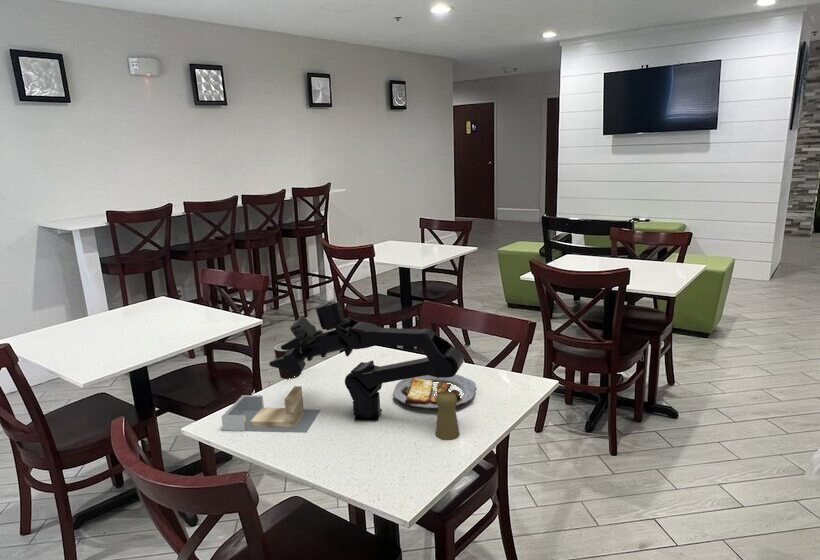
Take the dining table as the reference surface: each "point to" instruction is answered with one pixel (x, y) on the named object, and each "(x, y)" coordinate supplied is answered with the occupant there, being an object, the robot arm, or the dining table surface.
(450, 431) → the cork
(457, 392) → the food plate
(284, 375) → the coffee mug
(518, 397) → the dining table surface
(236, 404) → the frame
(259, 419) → the menu stand
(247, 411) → the rubber mat
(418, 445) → the dining table surface
